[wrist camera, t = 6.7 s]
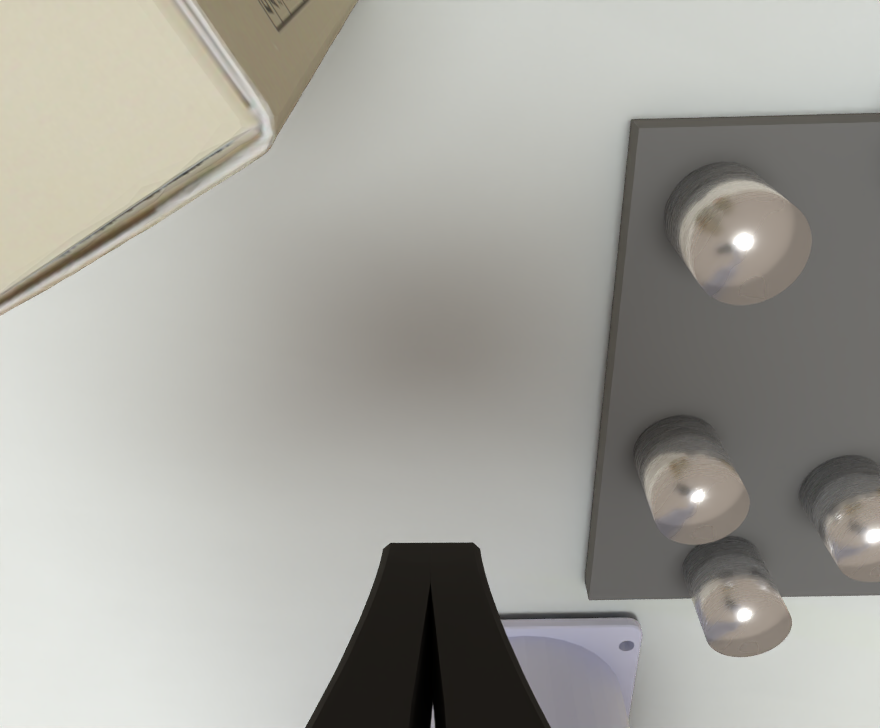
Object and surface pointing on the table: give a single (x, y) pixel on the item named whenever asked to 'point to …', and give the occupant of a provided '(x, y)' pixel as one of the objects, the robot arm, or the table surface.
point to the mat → (743, 349)
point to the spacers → (698, 446)
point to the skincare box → (135, 115)
